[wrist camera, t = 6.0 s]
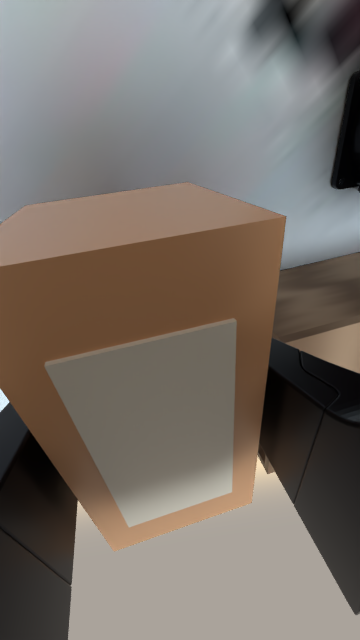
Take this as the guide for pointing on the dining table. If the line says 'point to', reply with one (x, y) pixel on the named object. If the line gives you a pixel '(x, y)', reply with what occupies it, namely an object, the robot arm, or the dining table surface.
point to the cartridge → (142, 348)
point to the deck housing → (320, 313)
